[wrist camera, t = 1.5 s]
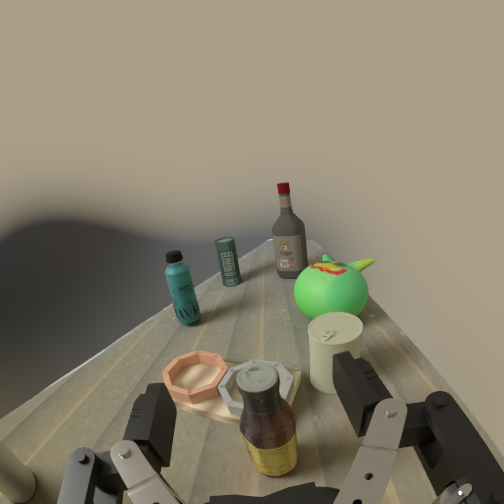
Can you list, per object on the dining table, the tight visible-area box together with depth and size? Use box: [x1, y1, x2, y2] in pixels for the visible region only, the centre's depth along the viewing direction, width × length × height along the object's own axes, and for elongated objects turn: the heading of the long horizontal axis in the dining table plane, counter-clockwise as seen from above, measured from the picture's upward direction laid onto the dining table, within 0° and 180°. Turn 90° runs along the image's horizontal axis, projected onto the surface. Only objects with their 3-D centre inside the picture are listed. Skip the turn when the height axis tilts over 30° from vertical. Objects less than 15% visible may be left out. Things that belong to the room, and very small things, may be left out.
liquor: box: [272, 183, 308, 279], centre depth 88 cm, size 9×9×30 cm
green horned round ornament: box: [294, 254, 375, 319], centre depth 63 cm, size 18×17×15 cm
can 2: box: [308, 312, 363, 394], centre depth 44 cm, size 9×9×12 cm
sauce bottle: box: [236, 363, 298, 477], centre depth 27 cm, size 7×6×20 cm
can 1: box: [215, 237, 241, 287], centre depth 91 cm, size 6×6×15 cm
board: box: [172, 362, 301, 426], centre depth 46 cm, size 24×13×2 cm, turn 69°
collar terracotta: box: [162, 350, 228, 404], centre depth 47 cm, size 12×12×2 cm
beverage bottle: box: [165, 250, 200, 324], centre depth 69 cm, size 6×7×20 cm
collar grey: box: [218, 359, 294, 417], centre depth 43 cm, size 12×12×2 cm
